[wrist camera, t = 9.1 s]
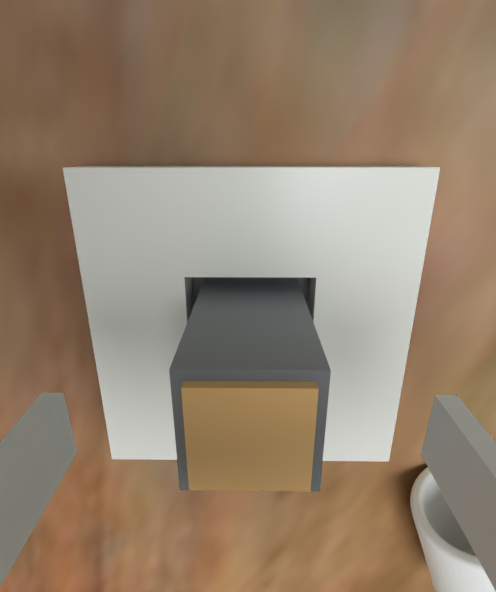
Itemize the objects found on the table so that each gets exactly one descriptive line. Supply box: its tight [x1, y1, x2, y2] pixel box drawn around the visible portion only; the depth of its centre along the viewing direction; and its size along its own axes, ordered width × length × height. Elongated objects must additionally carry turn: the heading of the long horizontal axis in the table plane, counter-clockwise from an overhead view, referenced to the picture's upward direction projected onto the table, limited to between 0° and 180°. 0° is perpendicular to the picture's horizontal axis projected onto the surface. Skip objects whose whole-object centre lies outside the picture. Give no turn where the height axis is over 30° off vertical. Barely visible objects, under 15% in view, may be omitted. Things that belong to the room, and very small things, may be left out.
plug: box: [169, 278, 331, 491], centre depth 18 cm, size 6×6×10 cm
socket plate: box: [63, 166, 440, 461], centre depth 22 cm, size 18×18×3 cm
